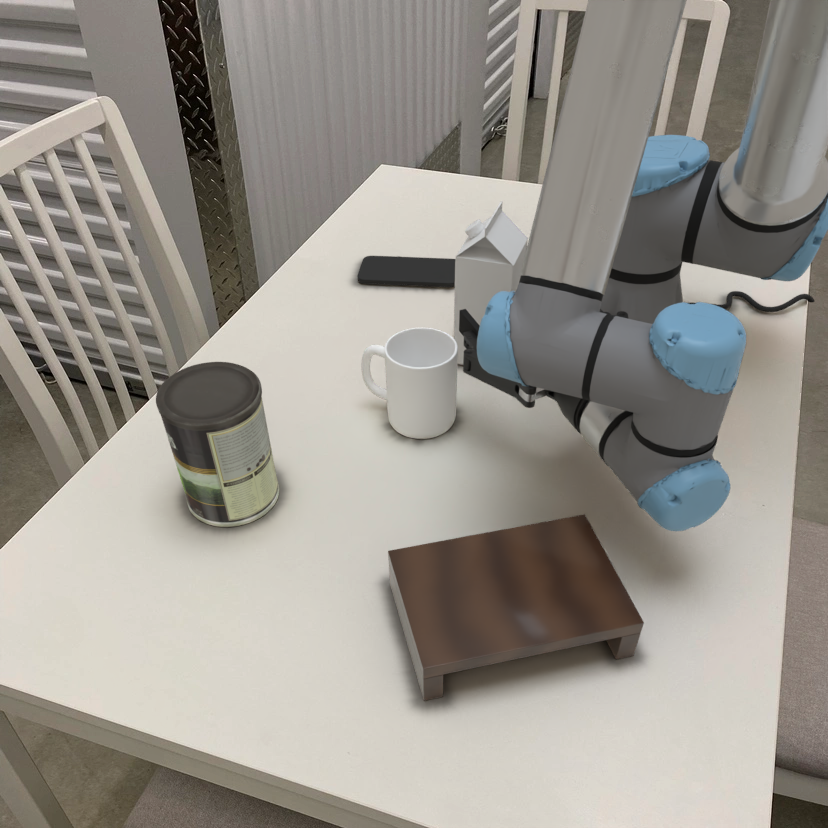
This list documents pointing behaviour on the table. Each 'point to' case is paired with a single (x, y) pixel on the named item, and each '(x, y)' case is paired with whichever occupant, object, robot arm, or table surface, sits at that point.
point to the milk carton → (486, 267)
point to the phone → (407, 271)
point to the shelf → (509, 598)
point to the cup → (417, 380)
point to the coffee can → (220, 442)
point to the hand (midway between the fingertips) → (514, 307)
